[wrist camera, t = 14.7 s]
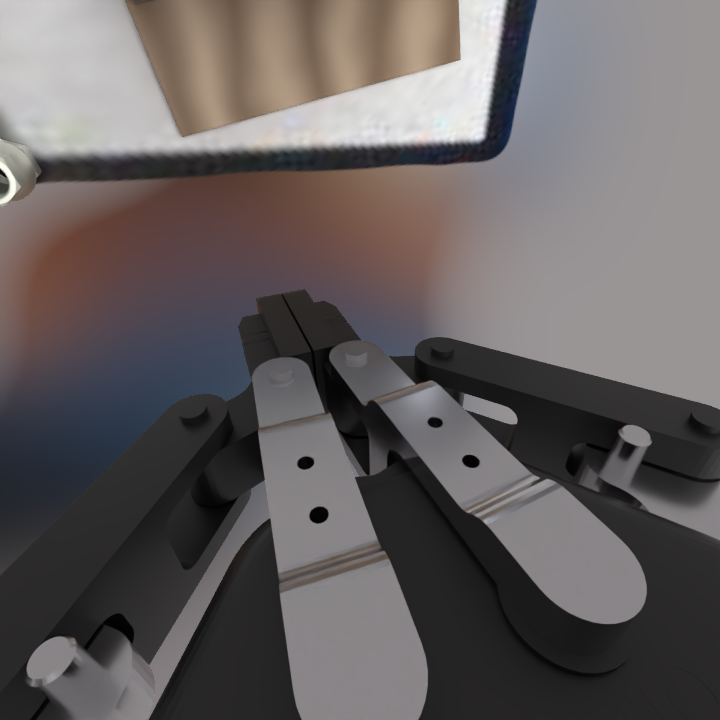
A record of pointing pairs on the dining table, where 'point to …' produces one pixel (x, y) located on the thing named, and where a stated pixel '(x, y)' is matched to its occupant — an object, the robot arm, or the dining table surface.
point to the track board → (285, 51)
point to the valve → (16, 172)
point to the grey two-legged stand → (141, 1)
